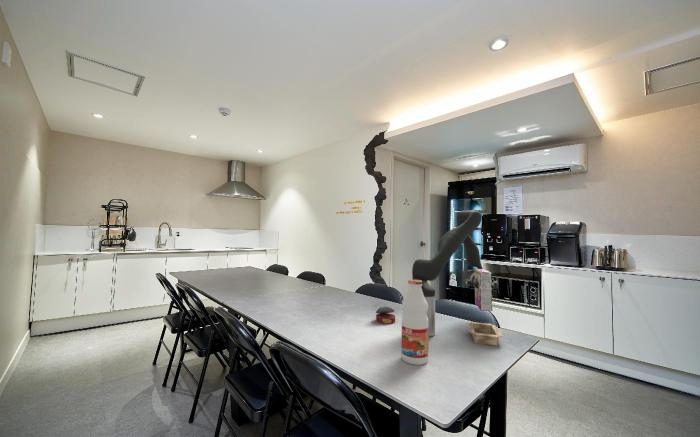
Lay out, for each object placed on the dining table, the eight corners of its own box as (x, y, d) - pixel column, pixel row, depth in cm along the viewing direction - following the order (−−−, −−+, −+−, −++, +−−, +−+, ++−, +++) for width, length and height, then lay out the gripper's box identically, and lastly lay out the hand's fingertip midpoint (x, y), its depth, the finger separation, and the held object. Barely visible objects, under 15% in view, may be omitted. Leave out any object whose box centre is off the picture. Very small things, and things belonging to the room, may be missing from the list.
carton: (471, 343, 119) (471, 333, 119) (467, 330, 136) (466, 321, 136) (503, 347, 115) (503, 337, 116) (494, 333, 132) (494, 324, 133)
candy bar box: (474, 304, 132) (474, 268, 133) (485, 305, 131) (485, 269, 132) (480, 310, 122) (479, 271, 122) (492, 311, 120) (492, 272, 121)
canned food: (376, 331, 145) (368, 313, 148) (385, 324, 153) (377, 307, 156) (394, 325, 139) (384, 305, 142) (402, 318, 148) (393, 300, 150)
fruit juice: (433, 360, 102) (433, 280, 104) (418, 368, 96) (419, 283, 97) (411, 352, 109) (411, 277, 110) (395, 359, 102) (396, 279, 104)
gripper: (463, 271, 142) (466, 276, 126) (495, 273, 138) (503, 278, 122) (463, 287, 142) (466, 293, 125) (495, 289, 137) (503, 296, 121)
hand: (484, 286), depth 124 cm, fingers closed on candy bar box, 5 cm apart
